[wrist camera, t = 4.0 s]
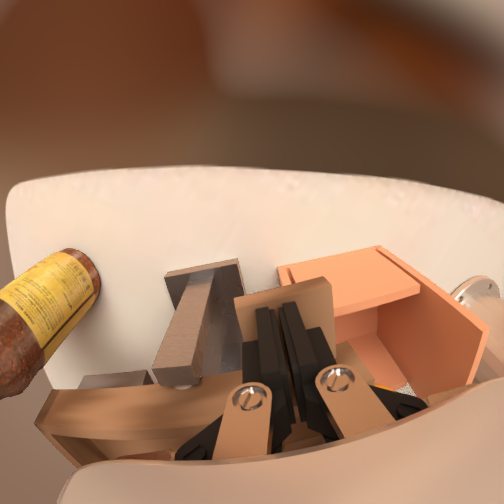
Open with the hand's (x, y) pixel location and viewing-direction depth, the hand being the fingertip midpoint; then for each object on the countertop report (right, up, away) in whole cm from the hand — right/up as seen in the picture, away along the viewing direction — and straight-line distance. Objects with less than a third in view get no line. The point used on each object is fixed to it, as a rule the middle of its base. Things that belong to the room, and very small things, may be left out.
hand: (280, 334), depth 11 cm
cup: (+6, -1, +13) cm, 14 cm away
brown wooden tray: (-5, -4, +4) cm, 8 cm away
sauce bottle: (-18, +1, +12) cm, 21 cm away
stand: (-4, -3, +13) cm, 14 cm away
